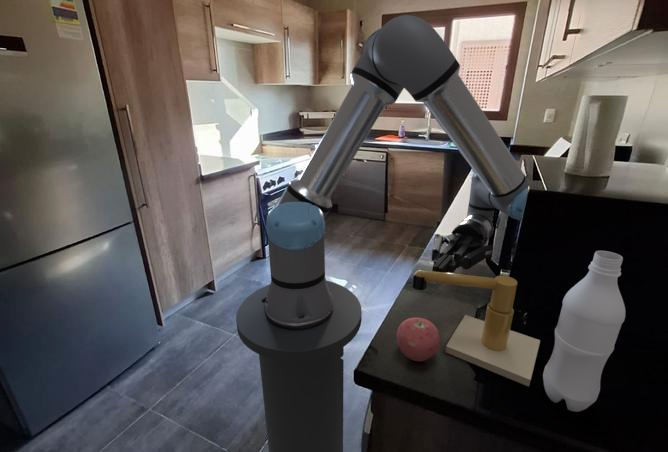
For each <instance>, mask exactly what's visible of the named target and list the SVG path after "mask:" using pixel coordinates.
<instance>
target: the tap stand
mask: <svg viewBox="0 0 668 452" xmlns="http://www.w3.org/2000/svg"><path fill="white" fill-rule="evenodd" d="M514 314H515V310H514V308H513V307H512V311H510V312H507V313H503V312H499V311H496V310H494V309H493V308H492V307H491V306H490V302H488V303H487V305H486V310H485V316H484V320H482V319H479V318H476V317H473V316H471V315H467V314H464V317H463V318H462V320H461V321H460V323H459V324H458V326H457V328H456V329H455V331H454V333H453V334H452V336H451V337H450V339H449V341H448V342H447V343H446V345H445V352H444V353H446V354H449V355H451V356H453V357H456V358H457V359H461V360H463V361H466V362H468V363H470V364H473V365H475V366H478V367H479V368H482V369H485V370H488V371H490V372H492V373H494V374H497V375H499V376H502V377H504V378H506V379H509V380H511V381H513V382H516V383H518V384H521V385H524V386H526V387H528V388H529V387H530V385H531V381H532V377H533V373H534V368H535V365H536V360H537V357H538V353H539V349H540V344H541V340H540V339H537V338H535V337H532V336H528V335H526V334H523V333H520V332H517V331H514V330H511V328H512V324H513V319H514Z"/></svg>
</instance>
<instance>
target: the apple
mask: <svg viewBox="0 0 668 452" xmlns="http://www.w3.org/2000/svg"><path fill="white" fill-rule="evenodd" d="M396 342H397V345H398V347H399V349H400V351H401V353H402V354H403V355H404V356H405V357H406V358H408V359H409V360H411V361H414V362H424V361H427V360H429V359H430V358H432V357H433V356H434V355H435V354H436V352H437V351H438V349H439V348H440V342H441V335H440V332H439V330H438V328H437V327H436V325H435V324H434V323H433V322H431V321H430V320H428V319H426V318H423V317H409V318H407V319H404V321H402V322H401V323H400V325H399V326H398V328H397V331H396Z"/></svg>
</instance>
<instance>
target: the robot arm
mask: <svg viewBox="0 0 668 452" xmlns="http://www.w3.org/2000/svg"><path fill="white" fill-rule="evenodd" d="M460 70H461V64H460V63H459V61H458V60H457V58H456V56H455V55H454V53H453V52H452V50H451V49H450V47H449V46H448V45H447V44H446V42H445V41H444V39H443V38H442V36H441V35H440V34H439V33H438V32H437V30H436V29H435V28H434V27H433V26H432V25H431V24H430V23H428V22H427V21H426V20H424V19H423V18H421V17H420V16H419V17H418V16H415V15H412V14H403V15H398V16H396V17H393V18H392V19H390V20H389V21H387V22H386V23H385V24H383V26H381V27H380V28H378V29H377V30H375V31H374V32H372V33H371V34H370V35H369V36H368V37H367V38H366V41H365V42H364V44H363V45H362V48H361V51H360V55H359V57H358V59H357V61H356V63H355V65H354V66H353V68H352V70H351V72H350V74H349V77H350V82H351V86H350V88H349V90H348V91H347V94H346V95H345V97H344V98H343V101H342V102H341V103H340V105H339V108H338V109H337V111H336V113H335V115H334V117H332V120H331V121H330V123H329V125H328V127H327V129H326V131H325V132H324V134H323V136H322V138H321V139H320V141H319V143H318V145H317V147H316V148H315V150H314V151H313V153H312V156H311V157H310V158H309V160H308V163H307V164H306V166H305V168H304V169H303V171H302V173H301V174H300V176H299V178H298V179H297V178H296V179H294V180H290V181H289V183H288V184H287V186H286V188H285V190H284V191H283V193H282V195H281V196H279V198H278V199H277V200H275V203H274V205H273V207H272V208H271V209H270V210H269V212H268V213H267V216H266V224H265V232H266V235H267V244H268V255H269V257H268V258H269V269H270V270H269V271H270V287H269V291H268V296H267V297H265V298H263V299H262V300H261V301H262V303H265V314H266V317H267V319H268V320H269V322H271V323H272V324H273V325H275V326H277V327H280V328H283V329H288V330H305V329H310V328H313V327H316V326H319V325H321V324H323V323H324V322H326V321H327V320H328V319H329V318H330V317H331V315H332V314H333V311H334V300H333V297H332V294H331V292H330V291H329V288H328V284H327V281H328V280H327V279H326V254H325V253H326V252H325V251H326V250H325V249H326V248H325V246H326V245H325V231H326V221H325V219H326V217H327V216H328V214H329V212H330V210H331V209H332V207H333V203H332V200H331V196H332V195H333V193H334V192H335V190H336V188H337V186H338V185H339V183H340V182H341V180H342V178H343V177H344V175H345V173H346V172H347V170H348V168H349V167H350V165H351V164H352V162H353V160H354V158H355V157H356V155H357V153H358V152H359V150H360V149H361V147H362V145H363V143H364V142H365V140H366V138H367V136H368V135H369V133H370V132H371V130H372V128H373V127H374V125H375V123H376V122H377V120H378V119H379V118H380V115H381V113H382V112H383V110H384V108H385V107H387V106H390V105H395V103H396V102H397V101H398V98H399V97H400V95H401V94H402V92H403V90H405V91H407V93H408V94H409V95H410V96H411V97H412V98H413V100H414V102H417V103H423V105H425V107H426V108H427V110H428V111H429V112H430V114H431V115H432V117H433V118H434V119H435V121H436V122H437V123H438V125H439V126H440V127H441V129H442V130H443V131H444V133H445V135H446V136H447V137H448V138H449V139H450V141H451V142H452V144H453V145H454V147H455V148H456V149H457V151H458V152H459V153H460V155H461V156H462V157H463V159H464V160H465V161H466V163H467V164H468V165H469V167H470V168H471V170H472V176H471V181H470V182H471V183H470V191H469V198H468V199H469V200H468V207H467V212H466V213H467V214H466V217H465V218H463V220H461V221H460V222H459V224H457V225H456V226H455V227H454V228H453V230H452V232H451V233H449V234H446V235H445V236H443V235H441V234H439V233H434V238H433V247H432V249H431V258H430V260H431V261H432V262H433V265H432V270H431V271H434V272H443V273H453V274H454V273H455V271H456V270H457V269H459V268H462V269H463V270H466V271H467V270H470V269H471V268H473V267H474V266H476V265H478V264H479V263H480V262H482V261H484V260H486V259H490V258H492V257H493V256H492V255H493V251H494V245H491V244H487V242H488V241H489V239H491V237H492V235H493V234H494V233H493V231H494V227H493V223H492V221H493V216H494V211H495V208H496V209H498V210H500V211H499V212H501V213H504V214H505V215H506V216H509V217H510V218H511V219H512V220H518V221H519V222H521V220H522V216H523V212H524V208H525V203H526V197H527V189H528V186H529V185H530V184H532V183H531V182H530V180H529V178H528V177H527V176H526V174H525V173H524V171H523V170H522V169H521V167H520V165H519V164H518V162H517V161H516V159H515V158H514V156H513V155H512V153H511V152H510V150H509V149H508V147H507V145H506V144H505V143H504V141H503V140H502V138H501V137H500V135H499V133H498V132H497V131H496V129H495V128H494V126H493V125H492V123H491V122H490V120H489V118H488V117H487V115H486V114H485V112H484V110H483V109H482V107H481V106H480V105H479V103H478V102H477V100H476V99H475V97H474V96H473V94H472V92H471V91H470V90H469V88H468V87H467V85H466V83H465V82H464V81H463V79H462V77H461V76H460V75H459V74H460ZM500 223H501V214H500V213H499V216H498V220H497V226H496V230H497V229H498V228H499V227H500ZM444 244H445V245H446V246H445V247H443V245H444ZM486 244H487V245H486ZM442 247H443V248H442Z"/></svg>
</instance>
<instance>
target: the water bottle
mask: <svg viewBox="0 0 668 452" xmlns="http://www.w3.org/2000/svg"><path fill="white" fill-rule="evenodd" d="M623 261H624V257H623V256H622V255H620V254H619V253H616V252H612V251H607V250H595V252H594V254H593V258H592V261H590V264H588V267H587V268H588V272H587V274H586V275H585V276H584V277H583V278H582V279H580V280H579V281H578V282H577V283H575V284H574V286H572V287H571V288H569V290H567V292H566V294H565V295H564V297H563V298H562V301H561V302H562V306H561V310H560V312H559V313H560V314H559V316H558V321H557V324H556V326H555V328H554V344H553V349H552V353H551V356H550V358H549V359H548V362H547V363H546V365H545V366H544V369H543V373H542V381H543V388H544V391H545V394H546V396H547V398H549V400H550V401H551V402H553V403H559V402H561V401H562V400H564V401H565V405H566V408H567V410H568V411H570V412H576V413H578V412H583V411H585V410H586V409H588V408H589V407H591V406H592V405H593V404H594V403H595V402H597V400H598V398H599V394H600V392H601V379H602V374H603V371H604V367H605V365H606V363H607V362H608V359H609V357H610V356H611V354H612V353H613V352H614V350H615V344H616V342H617V339H618V337H619V333H620V330H621V328H622V324H623V323H624V322H625V319H626V306H625V302H624V299H623V297H622V294H621V291H620V288H619V285H618V278H619V277H621V275H622V272H621V271H622V268H621V266H622V264H623Z"/></svg>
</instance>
